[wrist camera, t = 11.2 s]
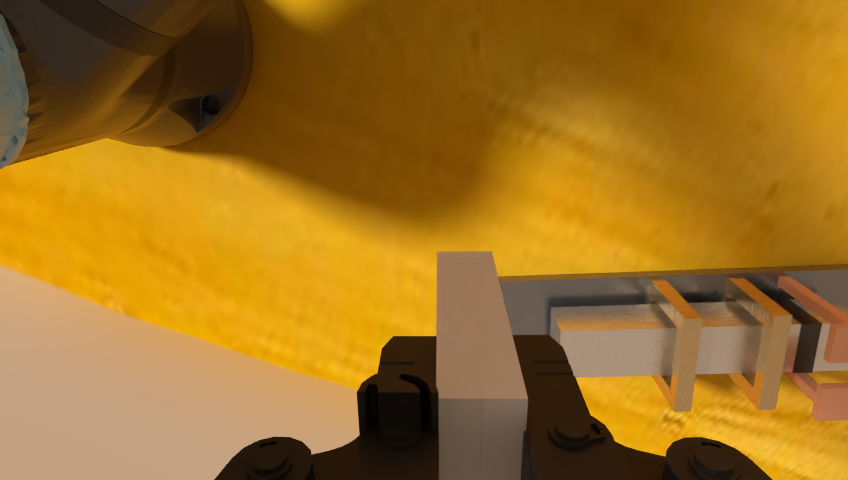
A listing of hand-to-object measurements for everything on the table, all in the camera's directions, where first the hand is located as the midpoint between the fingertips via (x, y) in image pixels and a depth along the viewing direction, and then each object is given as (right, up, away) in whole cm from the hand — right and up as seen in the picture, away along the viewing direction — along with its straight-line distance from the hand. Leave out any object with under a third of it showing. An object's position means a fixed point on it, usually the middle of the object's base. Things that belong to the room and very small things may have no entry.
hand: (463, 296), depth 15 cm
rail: (+18, -5, +31) cm, 36 cm away
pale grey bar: (+20, -5, +29) cm, 36 cm away
